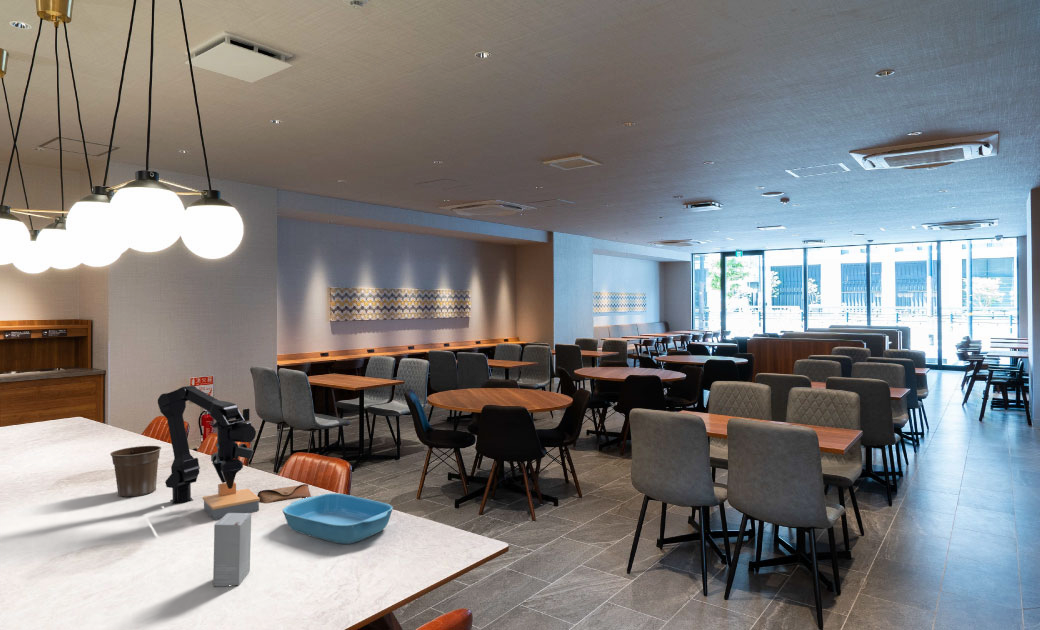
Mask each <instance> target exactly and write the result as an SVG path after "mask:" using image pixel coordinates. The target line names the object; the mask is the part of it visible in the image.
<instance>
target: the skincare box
mask: <svg viewBox="0 0 1040 630" xmlns="http://www.w3.org/2000/svg"><path fill="white" fill-rule="evenodd" d="M213 526H214V527H213V529H214V530H213V532H214V534H213V536H214V537H213V539H214V540H213V572H212V573H213V577H212V586H213V587H214V586H216V587H230V586H229V585H239V586H240V585H241V584H242V582H243V581H244V579H246V577H247V576H248V575H249V573H250V571H251V541H252V539H251V538H252V512H250V513H227V514H226V515H225V516H224V517H222V518H221V519H218V521H217V522H215V524H214V525H213Z"/></svg>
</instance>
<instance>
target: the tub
mask: <svg viewBox="0 0 1040 630" xmlns="http://www.w3.org/2000/svg"><path fill="white" fill-rule="evenodd" d="M259 505H260V501H255V502H250V503H245V504H240V505H234V506H229V507H224V508H219V509H214V510H212V509H211V508H210V507H209V505H208V504H207V503H206V502H205V501H204V500H203V510H204V511H205V512H206V514H208V516H209V517H210V518H211V519H212V520H214V521H216V520H220V519H221V518H222V517H224V516H225V515H226V514H227V513H254V512H259V511H260V506H259Z"/></svg>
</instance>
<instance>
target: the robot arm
mask: <svg viewBox="0 0 1040 630" xmlns="http://www.w3.org/2000/svg"><path fill="white" fill-rule="evenodd" d="M188 401H189V402H191V403H192V404H195V405H196V406H198V407H200V408H202V409H203V410H205V411H207V412H208V413H209V416H210V417H211V418H212V419H213V420H215V422H214V423H213V424H212V425H211V427H212V428H214V429H215V428H216V435H217V436H216V438H217V439H216V440H217V441H216V442H217V443H216V442H215V447H216V448H217V449H216V450H217V451H216V452H213V453H212V454H211V456H210V461H211V462H212V464H211V465H212V466H213V468H214V469H215V471H216V474H217V475H218V478H219V480H220V481H221V484H222V483H226V484H227V487H228V489H231V488H232V486H233V483H234V482H235V479H236V475H237V473H239V472H240V471H241V470H242V469H243V468H244V462H243V461H242V460H241V459H239V458H245V459H247V460H252V457H253V454H254V451H255V450H254V449H252V448H250V447H248V445H247V444H246V443H252V442H253V441H254V440H255V438H256V435H257V431H256V429H255V427H254V426H253V425H252V421H247V422H246V420H245V418H244V417H243V415H242V413H241V411H240V409H239V407H238V405H237V404H235V403H233V402H230V401H228V400H227V401H225V400H219V399H217V398H215V397H213V396H211V395H210V394H208V393H206V392H204V391H202V390H201V389H198V387H196V385H195V386H194V385H187V386H186V385H185V386H181V387H180V388H178V389H175V390H172V391H170V392H166V393H161V394H160V395H159V397H158V398H157V405H158V408H159V412H160V413H161V415H163V416H164V417H165V418H166V420H167V425H168V431H169V437H170V441H171V442H170V443H171V447H172V453H173V458H174V459H173V460H172V464H171V466H170V467H171V468H170V469H171V470H170V471H171V474H170V475H169V476H168V477H167V478H166V480H165V481H164V483H165V486H166V488H170V489H172V494H171V495H172V498H171V499H170V500H169V501H170V503H171V504H172V505H178V504H183V503H188V502H189V503H190V502H193V501H194V499H193V498H192V497H191V496H192V491H191V488H192V486H191V484H192V483H196V482H197V480H198V477H199V474H200V469H201V467H200V464H199V459H198V457H194V456H193V455H192V454H191V451H190V447H189V440H188V436H187V431H186V426H185V421H184V413H185V410H186V409H187V402H188ZM238 443H240V444H238Z"/></svg>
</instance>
